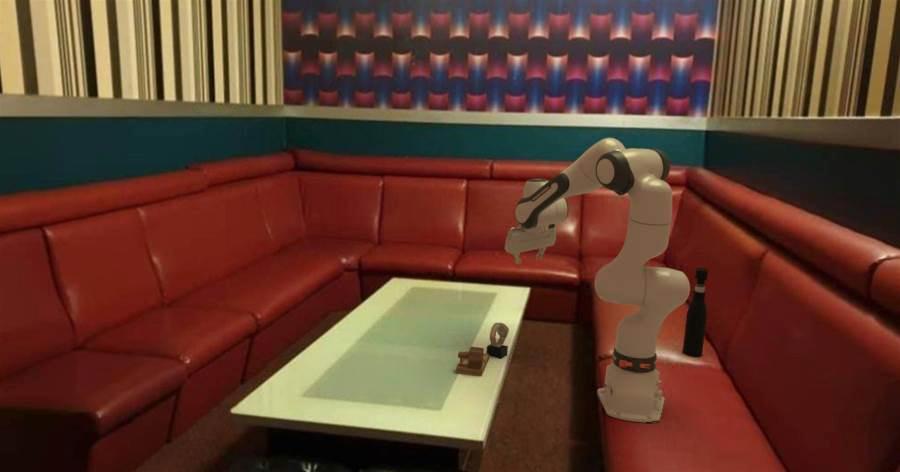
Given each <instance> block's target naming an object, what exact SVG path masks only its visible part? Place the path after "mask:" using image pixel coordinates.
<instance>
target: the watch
mask: <svg viewBox="0 0 900 472" xmlns="http://www.w3.org/2000/svg"><path fill="white" fill-rule="evenodd" d="M509 333H510V328H509V327H508V325H506V324H505V323H503V322H494V324H492V326H491V329H490V332H489V343H490V344H488V345H486V354H489V357H492V358H496V359H500V360H502V359H503V358H505V357H506V356H508V352H509V351H508V349H509V346H508V345H505V341H506V339H507V337H508V334H509ZM497 335H498V340H497V337H496V336H497Z"/></svg>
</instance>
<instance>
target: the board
mask: <svg viewBox="0 0 900 472" xmlns="http://www.w3.org/2000/svg"><path fill="white" fill-rule="evenodd" d="M464 352H469V350H465V351H464ZM489 360H490V356H489V354H487V352H486V353H485V352H483V365H482V368H481V369H473V368H468V359H465V358H462V363H460V360H459V361H458V363H457V365H456V367H455V368H456V370H455V373H456V374H460V375H466V376H475V377H476V376H477V377H482V376H483V375H484V372H485V370H486V368H487V365H488V362H489Z"/></svg>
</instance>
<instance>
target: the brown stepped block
mask: <svg viewBox="0 0 900 472" xmlns="http://www.w3.org/2000/svg"><path fill="white" fill-rule="evenodd" d="M468 351H469V352H465V351H458V353H457V358H458V359H459V361H460V363H462V358H465V359H468V368H473V369H481V368H482V365H483V353H484V347H481V346H480V347H479V346H470V347H469V350H468Z"/></svg>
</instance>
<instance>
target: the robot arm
mask: <svg viewBox="0 0 900 472" xmlns="http://www.w3.org/2000/svg"><path fill="white" fill-rule="evenodd" d="M670 172H671V163H670V158H669V157H668V156H667V154H666V153H665V151H662V150H660V149H656V148H653V147H646V148H633V147H632V148H626V147H625V145H623V142H621V141H620V140H618V139H616V138H613V137H606V138H603V139H601V140H599V141H598V142H596V143H594V144H593V145H592V146H590V147H589V148H588V149H586V150H585V151H584V152H583V153H582V155H580V156H579V157H578V158H577V159H576V160H575V161H574V162H573V163H571V164H570V165H569V166H567V167H566V168H565V169H564V170H562V171H561V172H559V174H557V175H555V176H554V177H553V178H551V179H549V180H548V179H547V178H530V179H528V180H526V181H525V184H524V188H523V192H522V198H520V199H519V200H518V202H517V203H516V205H515V208H514V211H513V212H514V219H515V221H516V222H517V224H518V225H519V226H513V227H511V228H510V229H509V230H508V231H507V234H506V239H505V244H504V250H505V251H506V253H508V254H510V255H513V257H514V263H515V264H517V265H519V264H521V263H522V258H520V255H521V253H526V252H528V251H529V252H530V251H534V250H538V252H537V253H536V254H535V259H537V260H542V259H543V254H544V253H545V251H546V249H547V248H548V247H552V246H554V245H555V243H556V240H557V229H556V228H557V226H558V224H560V223H563V222H565V221H566V219H567V217H568V216H569V211H570V208H569V203H568V201H567V199H566V198H569V197H573V196H579V195H584V194H589V193H592V192H593V193H594V192H595V191H597V190H599V189H600V188H602V187H603V188H605V189H606V190H607V189H608V190H610V191H613V192H614V193H615V195H618V196H620V197H622V196H624V195H627V196H628V197H629V201H630V208H629V215H628V220H627V221H628V223H627V230H626V235H625V240H624V242H623V243H624V244H623V246H622V248H621V250H620V251H619V253H618V255H617V256H616V257H615V258H613V260H612V261H611V262H608V263H607V264H605V265H604V266H602V267H601V268H600V269H599V270H598V272H596V275H595V277H594V289H595V292H596V294H597V296H598V297H599V298H600V299H601V301H606V302H608V303H613V304H617V305H629V306H630V305H631V306H640V307H639V309H637V311H635V312H634V313H632V314H629V315H626V316H624V317H623V318H622V319H620V321H619V322H618V324H617V328H616V329H617V330H616V335H615V336H616V338H615V339H616V340H615V347H614V348H613V351H612V362H611V363H609V365H607V366H606V368H605V369H606V370H605V376H604V377H605V379H604V385H603V386H604V387H602V388H598V389H597V392H596V393H597V396H598V399H599V400H600V402H601V405H602V407H603V408H604V411H605V413H606V415H607V416H610V417H612V418H615V419H618V420H623V421H629V422H637V423H646V422H652V421H659V420H660V421H661V419H660V417H661V418H662V415H661V413H662V414H663V410H662V409H664V406H665V402H666V401H665V400H666V399H665V397H664V396H662V395H663V390H662V389H659V386H660V387H661V385H662V380H660V374H661V373H660V371H659V370H658V369H657V361H658V359H657V358H658V357H657V353H656V351H657V343H658V338H659V333H660V329H661V326H662V324H663V323H664V320H665V319H666V318H667V317H668V315H670V314H671V313H672V312H673V311H674V310H675V309H676V308H678V307H680V306H682V305H683V304H684V303H685V302H686V301H687V300H688V299H689V295H690V294H691V293H690V292H691V285H690V280H689V278H688V276H687V275H686V274H685V273H684V272H683V271H680V270H677V269H673V268H670V267H662V266H661V267H660V266H659V267H658V266H644V265H645V264H646V263H647V262H648V261H649V260H651V259H653V258H657V257H659V256H661V255H662V254H663V253H664V252H665V251H666V250H667V248H668V246H669V242H670V241H669V240H670V233H671V225H672V218H673V191H672V187H671V186H670V185H669V183H668V182H667V181H666V179H667V178H668V177H669V174H670ZM664 401H665V402H664ZM663 405H664V406H663ZM660 421H659V422H660ZM652 423H653V422H652Z"/></svg>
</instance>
